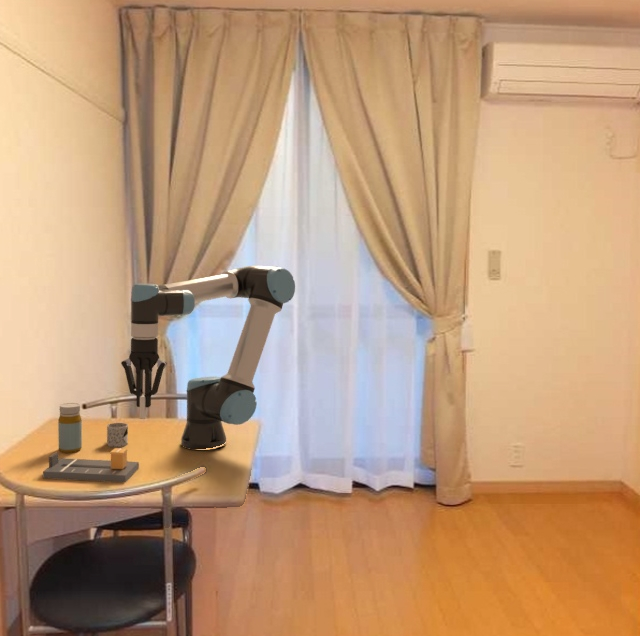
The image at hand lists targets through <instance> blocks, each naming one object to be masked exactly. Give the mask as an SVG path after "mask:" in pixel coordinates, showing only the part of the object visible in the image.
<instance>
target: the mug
mask: <svg viewBox="0 0 640 636" xmlns="http://www.w3.org/2000/svg"><path fill="white" fill-rule="evenodd" d="M128 430H129V426H128V423H126V422H113V423H109V424H107V425H106V446H107V447H109V448H123V447H126V446H128V445H129V443H128V441H129V435H128V434H129V431H128Z"/></svg>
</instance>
